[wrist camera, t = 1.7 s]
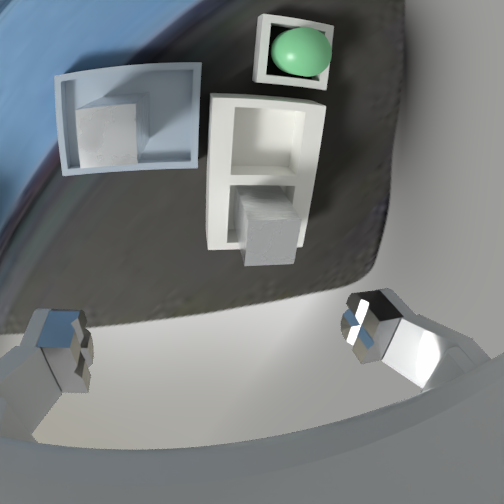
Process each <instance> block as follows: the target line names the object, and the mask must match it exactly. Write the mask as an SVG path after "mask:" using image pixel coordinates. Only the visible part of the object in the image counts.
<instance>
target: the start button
mask: <svg viewBox="0 0 504 504" xmlns="http://www.w3.org/2000/svg"><path fill="white" fill-rule="evenodd" d="M271 57H272V59H273V62H274V63H275V65H276V66H277V67H278V68H279V69H281V70H282V71H284V72H286V73H289V74H294V75H300V76H306V77H309V76H315V75H318V74H320V73H322V72H323V71H324V70H325V69H326V68H327V67H328V65H329V63H330V61H331V57H332V49H331V45H330V43H329V41H328V39H327V38H326V37H325V36H324V35H323V34H322V33H321V32H320V31H318V30H316V29H313V28H310V27H300V28H296V29H292V30H288V31H284V32H282V33H281V34H279V35H278V36H277V37H276V38H275V39H274V41H273V43H272V45H271Z"/></svg>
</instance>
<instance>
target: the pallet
mask: <svg viewBox="0 0 504 504" xmlns="http://www.w3.org/2000/svg"><path fill="white" fill-rule="evenodd" d="M325 112H326V106H325V105H322V104H320V103H317V102H315V101H312V100H307V99H298V98H289V97H278V96H266V95H251V94H229V93H210V104H209V125H208V150H207V185H206V236H207V245H208V250H224V249H240V247H239V244H238V240H237V236H236V232H235V228H234V225H233V211H234V194H235V185H276V186H280V187H281V189H282V190H283V192H284V193H285V195H286V196H287V198H288V199H289V201H290V202H291V204H292V205H293V207H294V209H295V210H296V212H297V213H298V215H299V216H300V218H301V219H302V222H301V227H300V233H299V238H298V244H297V247H303V242H304V236H305V231H306V226H307V221H308V215H309V210H310V204H311V199H312V193H313V187H314V182H315V176H316V170H317V164H318V158H319V152H320V145H321V139H322V133H323V126H324V119H325Z"/></svg>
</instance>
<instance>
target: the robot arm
mask: <svg viewBox="0 0 504 504" xmlns="http://www.w3.org/2000/svg"><path fill="white" fill-rule="evenodd" d="M346 304H347V306H348V308H349V309H348V310H347V311H346V312H345V313H344V314H343V316H342V320H341V332H342V335H343V337H344V338H345V340H346V341H347V342H349V343H350V344H352V345H353V352H354V354H355V355H356V357H357V358H358V360H359V361H360V363H361V364H365V363H370V362H374V361H379V360H382V361H383V362H384V363H386V364H387V365H389V366H390V367H392V368H393V369H394V370H396V371H398V372H399V373H400V374H402V375H403V376H405V377H406V378H408V379H409V380H411V381H412V382H414V383H415V384H417V385H418V386H419V387H421V388H423V389H422V391H421V392H420V393H419V394H417V395H414V396H412V397H409V398H407V399H404V400H401V401H399V402H396V403H393V404H391V405H388V406H385V407H382V408H379V409H376V410H374V411H370V412H367V413H364V414H361V415H358V416H354V417H351V418H348V419H344V420H341V421H337V422H334V423H330V424H326V425H322V426H318V427H314V428H310V429H306V430H302V431H297V432H292V433H288V434H283V435H278V436H273V437H267V438H261V439H256V440H250V441H244V442H236V443H229V444H221V445H211V446H201V447H191V448H175V449H154V450H153V449H149V450H118V449H117V450H116V449H93V448H79V447H67V446H58V445H50V444H42V443H38V442H37V441H36V440H35V438H34V437H33V436H32V435H31V434H32V433H33V432H34V430H35V429H36V427H37V426H38V425H39V424H40V422H41V421H42V419H43V418H44V417H45V416H46V414H47V413H48V412H49V410H50V409H51V408H52V406H53V405H54V404H55V403H56V401H57V400H58V399H59V397H60V396H61V395H62V392H66V393H67V392H68V393H88V392H89V385H90V378H91V374H90V372H89V369H88V367H89V366H91V365H92V364H93V357H94V352H93V341H92V337H91V333H90V332H89V331H88V330H87V329H86V324H87V319H86V316H85V312H84V311H83V310H80V309H36V310H35V311H34V313H33V315H32V317H31V320H30V322H29V324H28V327H27V329H26V331H25V334H24V336H23V339H22V341H21V344H20V346H15V347H14V348H12V349H11V350H10V351H9V352H7V353H6V354H5V355H4V356H2V357H1V358H0V504H504V353H502V354H500V355H498V356H497V357H495V358H493V359H490V357H489V356H488V355H487V354H486V353H485V352H484V351H483V350H482V349H481V348H480V347H479V346H478V344H477V343H476V342H475V341H474V340H473V339H472V338H470V337H467V336H465V335H463V334H461V333H459V332H457V331H454V330H452V329H450V328H448V327H446V326H444V325H441V324H439V323H437V322H435V321H432V320H430V319H428V318H426V317H424V316H422V315H416V314H415V313H414V312H413V311H412V310H411V309H410V308H409V307H408V306H407V305H406V304H405V303H404V302H403V301H402V299H400V298H399V296H398V295H397V294H396V293H395V292H394V291H393V290H391V289H389V288H385V289H379V290H375V291H367V292H360V293H352V294H351V295H350V296H349V297H348V300H347V303H346Z"/></svg>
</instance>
